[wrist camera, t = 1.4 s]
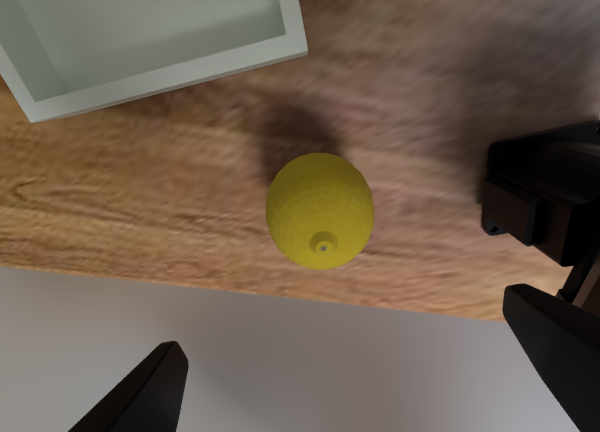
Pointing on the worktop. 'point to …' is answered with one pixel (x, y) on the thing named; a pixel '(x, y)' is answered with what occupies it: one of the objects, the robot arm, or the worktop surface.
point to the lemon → (319, 211)
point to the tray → (135, 48)
